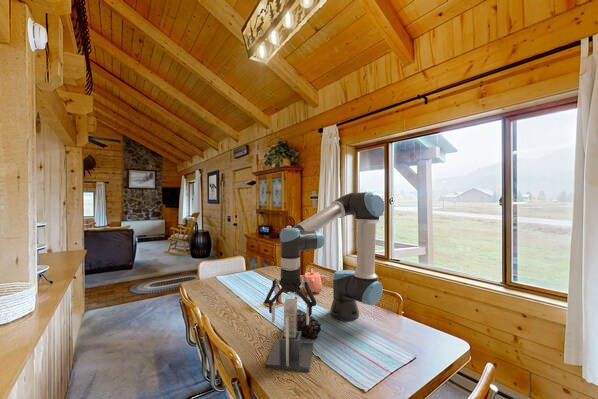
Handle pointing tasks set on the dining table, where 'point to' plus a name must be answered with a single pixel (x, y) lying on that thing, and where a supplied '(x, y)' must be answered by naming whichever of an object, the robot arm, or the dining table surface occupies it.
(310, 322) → the pine cone
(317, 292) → the teapot
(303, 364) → the stand base
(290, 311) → the column
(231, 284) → the dining table surface
